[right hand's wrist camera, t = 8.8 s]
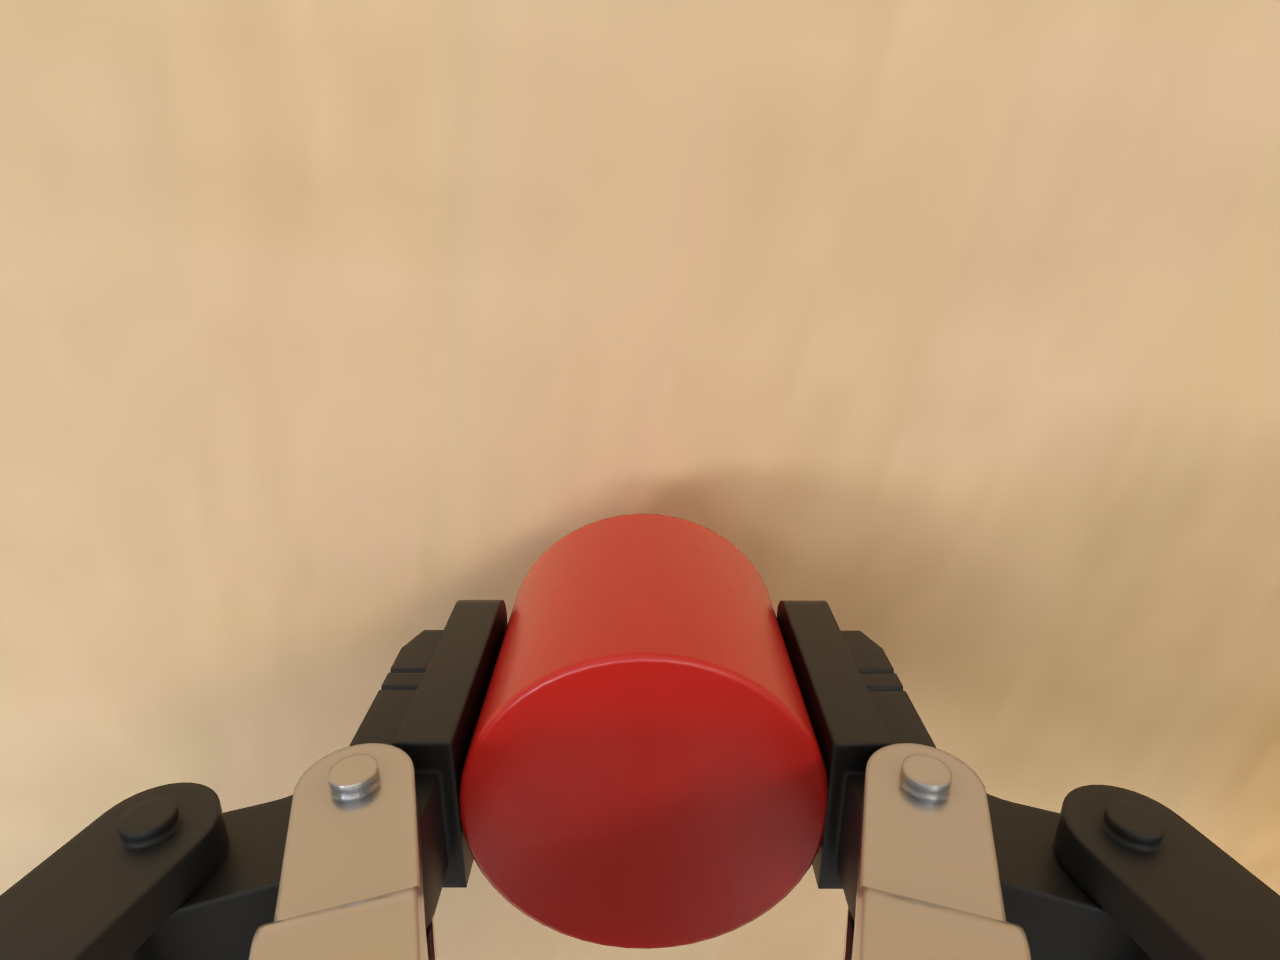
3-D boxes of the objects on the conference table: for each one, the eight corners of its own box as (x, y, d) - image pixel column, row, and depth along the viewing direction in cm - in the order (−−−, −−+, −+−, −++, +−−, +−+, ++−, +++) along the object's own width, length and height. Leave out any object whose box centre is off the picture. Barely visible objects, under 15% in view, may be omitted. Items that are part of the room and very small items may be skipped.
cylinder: (470, 676, 13) (398, 873, 9) (586, 464, 12) (561, 591, 8) (690, 774, 14) (711, 995, 10) (824, 585, 13) (907, 756, 9)
